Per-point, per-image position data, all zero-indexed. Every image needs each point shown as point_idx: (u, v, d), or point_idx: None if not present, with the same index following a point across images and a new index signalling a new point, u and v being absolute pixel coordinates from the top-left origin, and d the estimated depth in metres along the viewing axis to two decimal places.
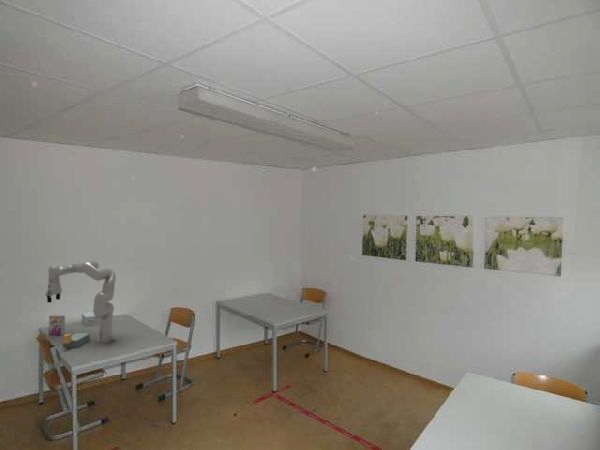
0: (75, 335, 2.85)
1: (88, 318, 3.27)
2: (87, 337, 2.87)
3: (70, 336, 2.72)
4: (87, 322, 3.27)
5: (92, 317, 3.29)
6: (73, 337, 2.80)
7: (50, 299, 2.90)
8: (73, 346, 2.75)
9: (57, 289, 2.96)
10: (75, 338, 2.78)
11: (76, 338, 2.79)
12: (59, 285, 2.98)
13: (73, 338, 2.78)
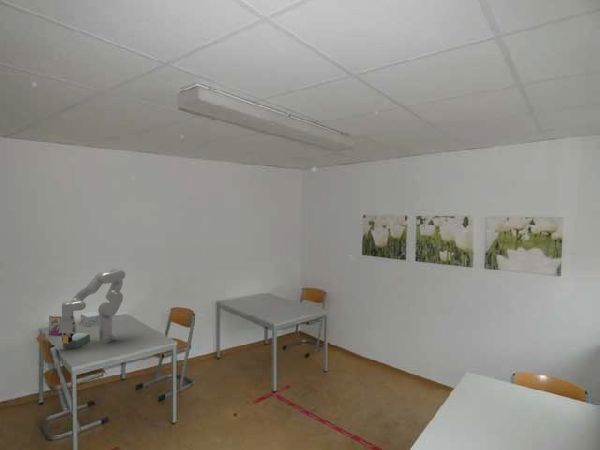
0: (75, 335, 2.85)
1: (90, 318, 3.27)
2: (87, 337, 2.87)
3: None
4: (89, 322, 3.27)
5: (93, 317, 3.30)
6: (73, 337, 2.80)
7: None
8: (73, 346, 2.75)
9: None
10: (75, 338, 2.78)
11: (76, 338, 2.79)
12: None
13: (73, 338, 2.78)
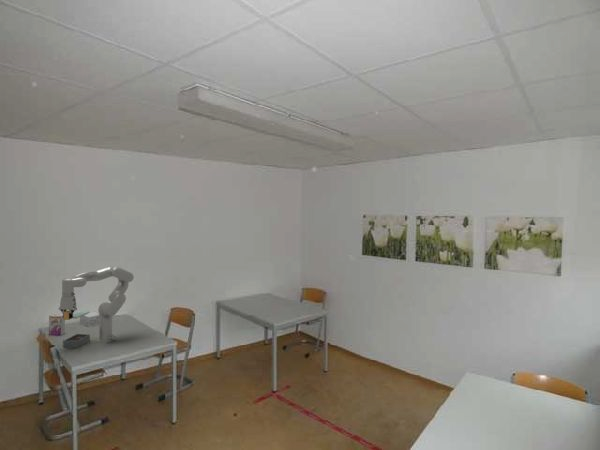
0: (76, 312, 2.85)
1: (91, 318, 3.28)
2: (87, 337, 2.87)
3: None
4: (90, 322, 3.27)
5: (94, 317, 3.30)
6: (74, 314, 2.80)
7: None
8: (73, 346, 2.75)
9: None
10: (76, 315, 2.78)
11: (77, 315, 2.78)
12: None
13: (74, 315, 2.78)
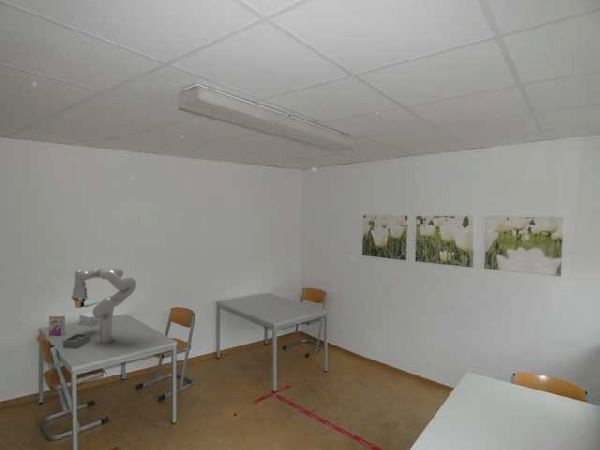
0: (86, 302, 3.10)
1: (92, 318, 3.28)
2: (87, 337, 2.87)
3: None
4: (91, 322, 3.28)
5: None
6: (85, 303, 3.06)
7: None
8: (73, 346, 2.75)
9: None
10: (86, 304, 3.04)
11: (87, 304, 3.04)
12: None
13: (85, 304, 3.03)
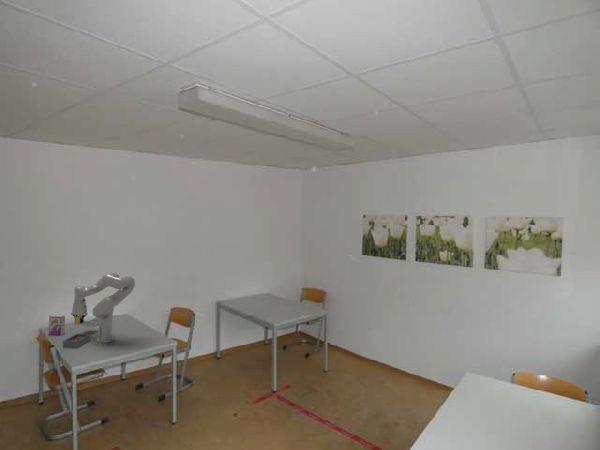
0: (86, 317, 3.11)
1: None
2: (87, 337, 2.87)
3: None
4: (92, 322, 3.28)
5: None
6: (84, 319, 3.06)
7: None
8: (73, 346, 2.75)
9: None
10: (86, 320, 3.04)
11: (87, 320, 3.04)
12: None
13: (84, 320, 3.04)
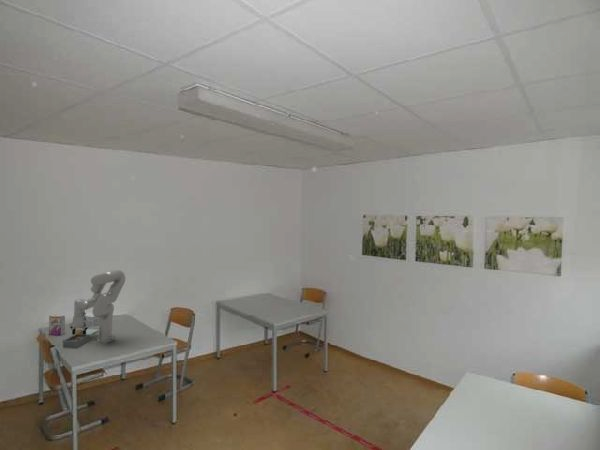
0: (86, 331, 3.11)
1: (94, 317, 3.29)
2: (87, 337, 2.87)
3: (81, 332, 2.98)
4: (93, 321, 3.29)
5: None
6: None
7: None
8: (73, 346, 2.75)
9: None
10: None
11: None
12: None
13: None
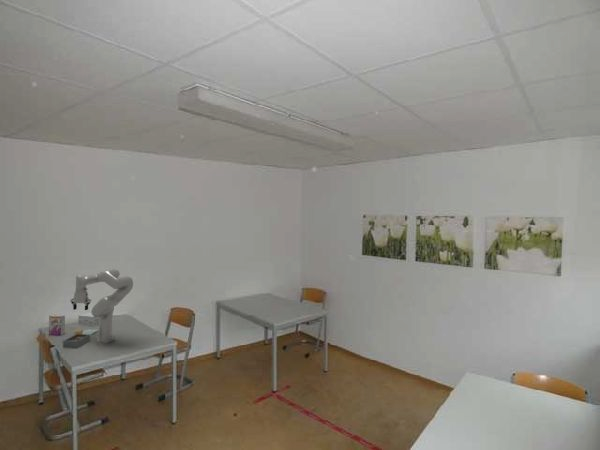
0: (85, 331, 3.10)
1: (95, 317, 3.30)
2: (87, 337, 2.87)
3: (81, 332, 2.98)
4: (94, 321, 3.29)
5: None
6: (84, 333, 3.06)
7: None
8: (73, 346, 2.75)
9: None
10: None
11: None
12: None
13: None
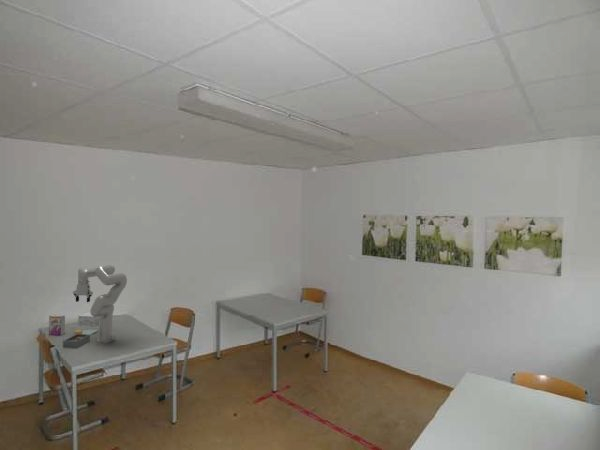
0: (85, 331, 3.10)
1: (96, 317, 3.30)
2: (87, 337, 2.87)
3: (81, 332, 2.97)
4: (95, 321, 3.30)
5: (98, 316, 3.34)
6: (83, 333, 3.05)
7: None
8: (73, 346, 2.75)
9: None
10: None
11: None
12: None
13: None
